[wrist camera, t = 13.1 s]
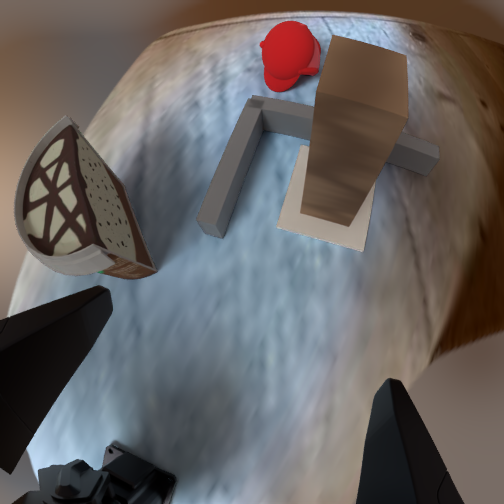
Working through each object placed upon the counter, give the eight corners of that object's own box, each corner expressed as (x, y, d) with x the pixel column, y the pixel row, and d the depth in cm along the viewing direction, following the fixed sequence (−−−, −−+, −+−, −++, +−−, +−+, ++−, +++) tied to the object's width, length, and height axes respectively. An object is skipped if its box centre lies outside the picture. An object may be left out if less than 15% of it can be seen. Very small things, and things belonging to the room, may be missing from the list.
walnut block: (359, 174, 24) (406, 55, 12) (348, 227, 23) (408, 118, 10) (314, 161, 25) (332, 34, 12) (299, 213, 24) (315, 91, 11)
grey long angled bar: (413, 292, 21) (430, 286, 18) (205, 233, 24) (195, 220, 21) (426, 163, 24) (439, 146, 21) (252, 116, 27) (249, 94, 24)
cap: (274, 25, 27) (243, 22, 23) (323, 21, 24) (299, 15, 20) (279, 87, 32) (251, 93, 28) (327, 89, 29) (305, 94, 25)
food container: (71, 206, 26) (8, 157, 17) (120, 174, 27) (66, 110, 17) (105, 321, 23) (21, 304, 13) (164, 288, 23) (96, 253, 14)
